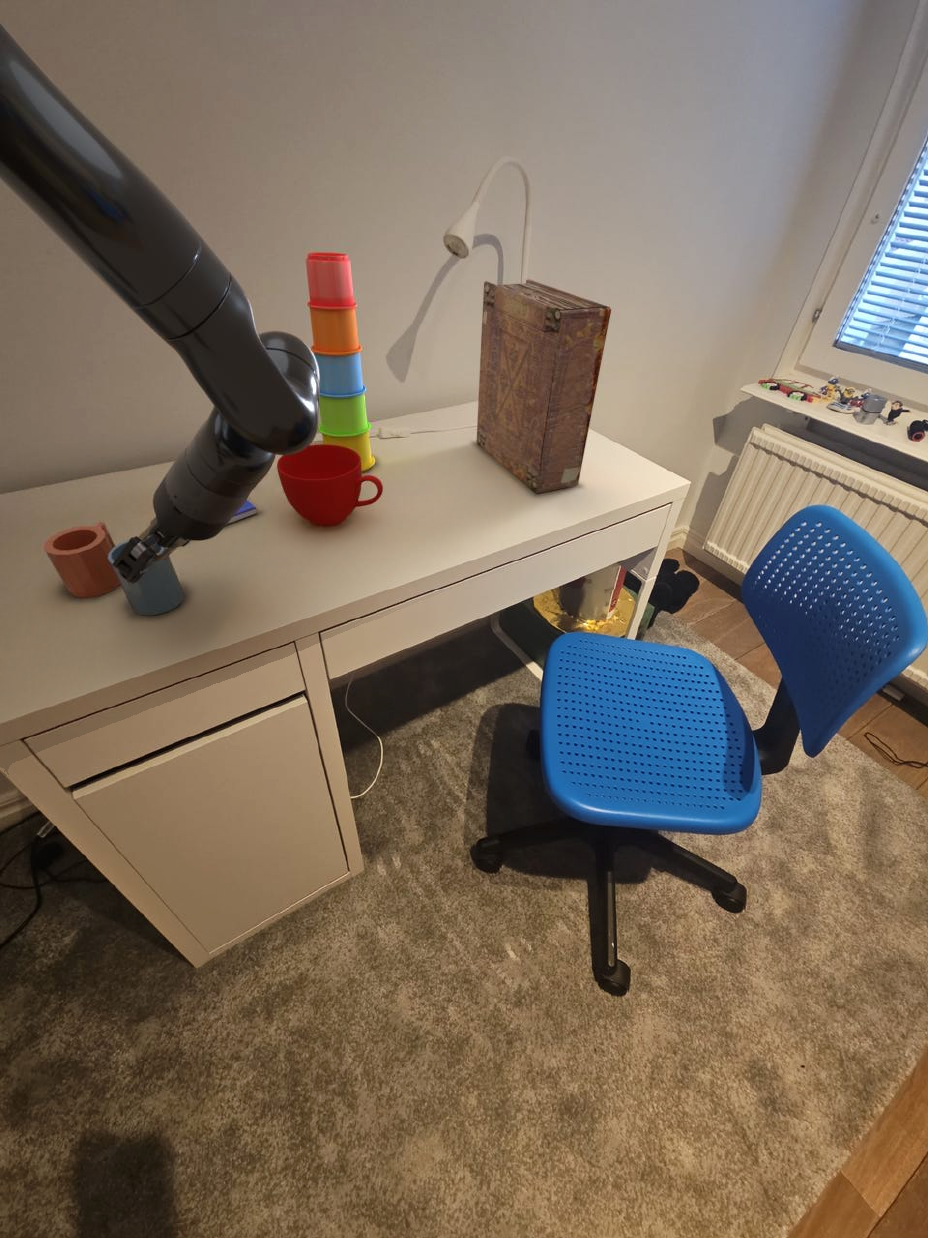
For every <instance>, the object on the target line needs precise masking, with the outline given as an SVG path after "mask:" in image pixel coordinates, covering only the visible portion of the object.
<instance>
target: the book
mask: <svg viewBox="0 0 928 1238" xmlns="http://www.w3.org/2000/svg"><path fill="white" fill-rule="evenodd" d="M482 297H483V298H482V318H481V337H480V338H481V339H480V360H479V363H480V364H479V380H478V401H477V402H478V403H477V422H476V444H477V445H478V446H479V447H480V448H481V449H483V450H484V451H485V452H486V453H487V454H489V456H491V457H492V458H493V459H495V461H497V462H498V463H499V464H500V465H502V466H503V467H504V468H505V469H506V470H508V471H509V472H510V473H512V475H514V476H515V477H516V478H517V479H518V480H519V481H521V482H522V483H523V484H524V485H526V487H527V488H529V489H530V490H531V491H532V492H534V493H535V494H536V495H537V494H541V493H546V492H550V491H551V492H552V491H556V490H560V489H564V488H571V487H575V486H577V485H579V482H580V476H581V472H582V466H583V462H584V461H583V460H584V457H585V451H586V445H587V440H588V434H589V429H590V424H591V418H592V413H593V408H594V403H595V397H596V393H597V388H598V382H599V378H600V377H599V376H600V371H601V366H602V361H603V357H604V350H605V345H606V341H607V334H608V329H609V323H610V319H611V313H612V309H611V306H607V305H605V304H602V303H599V302H596V301H593V300H590V299H587V298H584V297H582V296H578V295H575V294H573V293H570V292H567V291H564V290H561V289H559V288H556V287H552V286H550V285H548V284H547V285H546V284H544V283H541V282H538V281H535V280H533V279H529V278H528V279H525V282H524V283H507V284H496V283H493V282H490V281H487V280H485V281H483V296H482Z"/></svg>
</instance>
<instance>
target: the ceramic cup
mask: <svg viewBox="0 0 928 1238" xmlns="http://www.w3.org/2000/svg"><path fill="white" fill-rule="evenodd" d="M276 470H277V474H278V477H279V482H280V484H281V487H282V490H283V493H284V495H285V497H286V499H287V501H288V503H289V504H290V506H291V508H293V510H294V511H295V512H296V513H297V514H298V515H299V516H300V517H302V518H303V519H304V520H306V521H307V522H308V523H310V525H313V526H316V527H320V528H329V527H335V526H339V525H341V524H343V523H344V522H345V521H346V520H347V519H348V517H349V516H350V515H351V514H352V512H354V510H355V509H356V508H361V507H366V506H369V505H372V504H374V503H376V502H377V501H379V499H380V498H381V496H382V495H383V491H384V486H383V483H382V481H381V480H380V479H379V477H377V476H376V475H371V474H366V475H363V472H362V466H361V457H360V456H359V454H358V453H357V452H355V451H354V450H352V449H350V448H347V447H343V446H339V445H329V444H323V443H322V444H320V443H319V444H310V445H309V446H308V447H307V448H306V449H305V450H303V451H301V452H299V453H296V454H293V455H280V457H279V458H278V460H277V463H276ZM364 482H371V483H373V484H374V485H375V486H376V490H377V492H376V494H375V495H374V497H372V498H368V499H364V500H359V499H360V496H361V493H362V486H363V485H362V484H363V483H364Z"/></svg>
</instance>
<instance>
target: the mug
mask: <svg viewBox="0 0 928 1238" xmlns="http://www.w3.org/2000/svg"><path fill="white" fill-rule="evenodd" d="M116 546H117V545H115V542H114V540H113V538H112V536H111V534H110V531H109V529H108V527H107V524H106V523H105V522H104V521H98V522H96V524H95V525H81V526H80V525H79V526H74V527H70V528H67V529H64V530H61V531H58V532H56V533H55V534H53V535H51V536H50V537H49V538H48V539H47V540H46V541H45V542H44V544H43V549H44V551H45V553H46V555H47V557H48V558H49V560H50V562H51V564H52V566H53V567H54V569H55V571H56V573H57V574H58V576H59V578H60V580H61V581H62V583H63V585H64V587H65V589H66V590H67V591H68V593H69V594H70V595H72V596H74V597H77V598H93V597H98V596H102V595H104V594H108V593H109V592H112V591H114V590H115V589H117V588H118V587H120V586H121V585H120V583H119V581H118V579H117V577H116V575H115V573H114V571H113V569H112V566H111V564H110V562H109V560H108V554H109V552H110V551H111V550H112V549H113V548H114V547H116Z"/></svg>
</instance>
